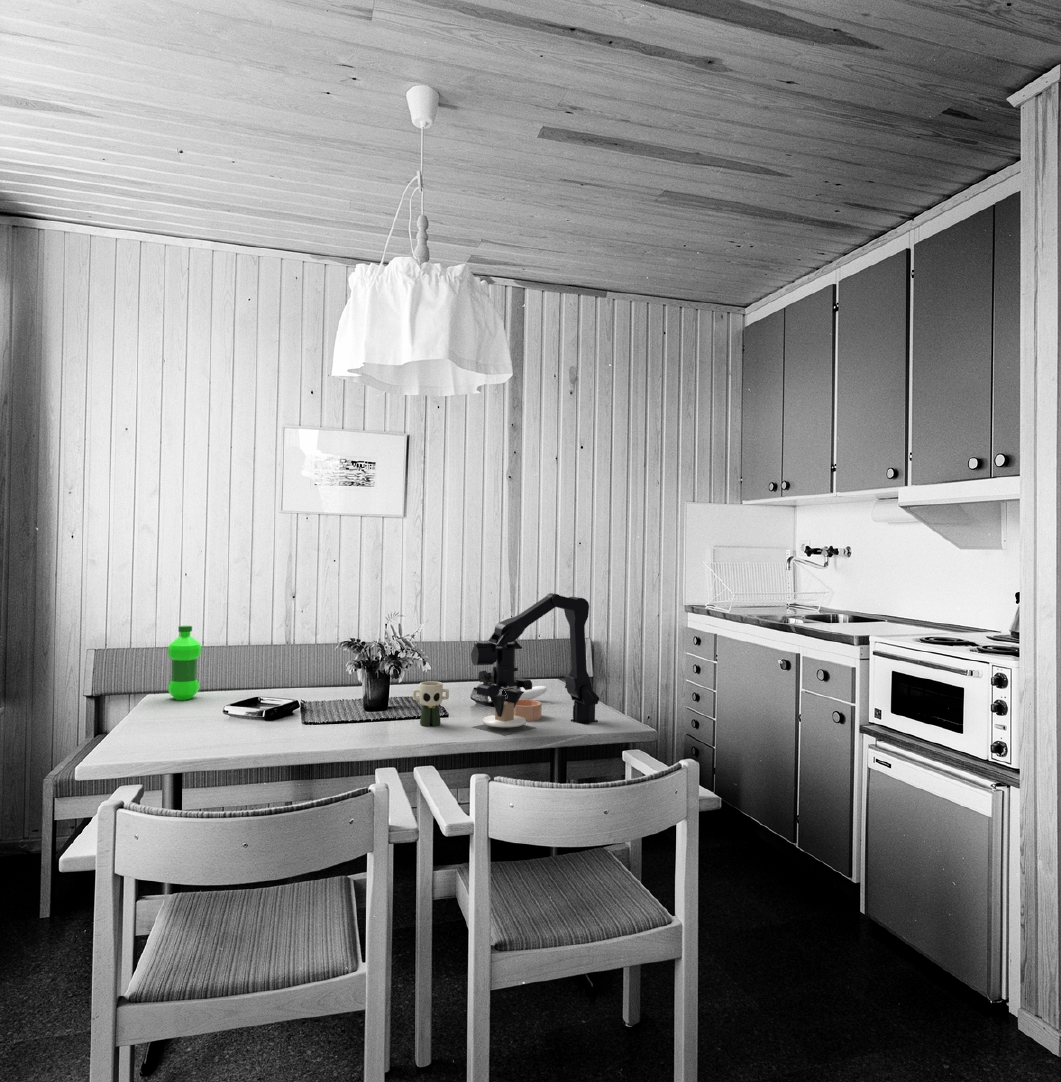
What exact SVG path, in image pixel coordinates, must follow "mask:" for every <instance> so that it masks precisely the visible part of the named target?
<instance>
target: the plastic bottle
mask: <svg viewBox="0 0 1061 1082" xmlns="http://www.w3.org/2000/svg"><path fill="white" fill-rule="evenodd" d="M177 629H178V633H179V636H178V637H176V638H175V639H174V640H173V641H172V642H171V643H170V644H169V646H168V647H167V648H168V649H167V654H168V655H167V656H168V657H169V658H170V659H171V677H170V679H171V680H170V682H169V683H168V686H167V691H168V694H169V695H170V696H172V697H173V698H174V699H175V700H176V701H177V700H178V701H185V700H192V698H194V696H195V695H196V694H198V693H199V690H200V683H199V681H198V679H197V676H198V674H197V672H198V670H197V668H198V658H200V656H201V653H202V646H201V644H200V642H198V640H196V639H195V638H194V637H192V636H191V632H192V631H193V626H192V625H179V626H178V628H177Z"/></svg>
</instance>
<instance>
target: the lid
mask: <svg viewBox="0 0 1061 1082" xmlns="http://www.w3.org/2000/svg"><path fill="white" fill-rule="evenodd" d="M494 711H495V712H494V715H488V716H485V717H483V718H482V724H485V725H489V726H493V727H517V726H522V725H526V723H527V721H526V719H525V718H523V717H520V716H514V703H511V702H507V701H506V700H505V701H504V706H503V711H502V715H501V717H498V715H497V712H496V709H495V708H494Z"/></svg>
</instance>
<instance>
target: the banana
mask: <svg viewBox="0 0 1061 1082" xmlns="http://www.w3.org/2000/svg"><path fill="white" fill-rule="evenodd" d="M494 685H496V684H494ZM507 687H508V686H507ZM501 688H503V687H501ZM520 689H521V691H524V693H523V694H522V695H521V697H520V698H519V700H520V699H526V700H534V699H536V698H537V697H540V696H543V695H544V694H545V693H546V692H547V691H548V687H547V686H544V685H535V686H532V689H530V690H525V689H524V688H523V687H520Z"/></svg>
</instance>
